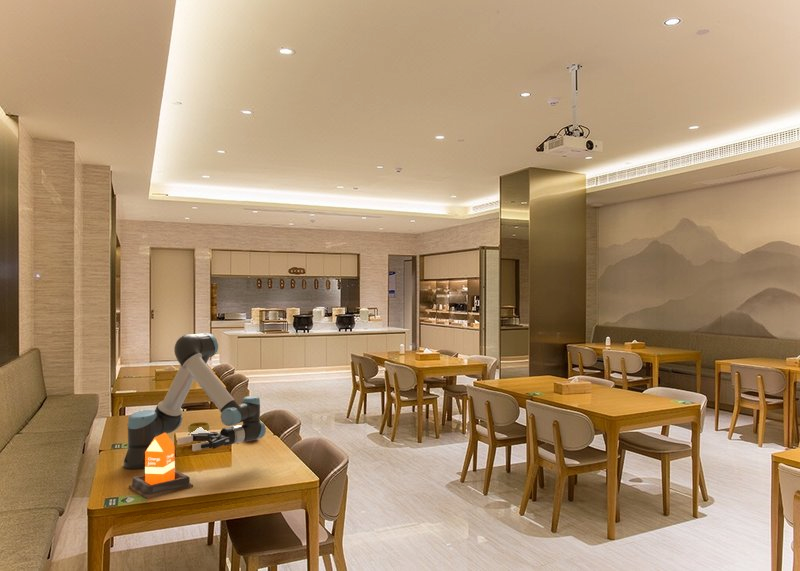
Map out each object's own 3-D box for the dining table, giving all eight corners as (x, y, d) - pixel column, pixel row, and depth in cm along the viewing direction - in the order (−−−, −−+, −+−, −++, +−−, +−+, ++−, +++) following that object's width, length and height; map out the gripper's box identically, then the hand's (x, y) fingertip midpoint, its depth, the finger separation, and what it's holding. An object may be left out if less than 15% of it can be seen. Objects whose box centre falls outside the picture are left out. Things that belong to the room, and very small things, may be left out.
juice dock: (128, 487, 228) (128, 477, 228) (173, 477, 241) (173, 467, 241) (147, 498, 215) (147, 488, 216) (192, 486, 228) (192, 476, 228)
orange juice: (144, 488, 224) (144, 437, 224) (156, 481, 232) (156, 432, 233) (163, 489, 223) (163, 437, 223) (175, 482, 231) (175, 432, 232)
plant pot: (202, 446, 291) (202, 426, 291) (184, 445, 293) (184, 425, 293) (213, 440, 301) (213, 422, 301) (195, 440, 303) (195, 421, 303)
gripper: (246, 449, 242) (199, 459, 227) (217, 438, 259) (171, 447, 244) (246, 431, 242) (199, 440, 227) (217, 422, 260) (171, 430, 244)
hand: (184, 444), depth 236 cm, fingers open, 13 cm apart
